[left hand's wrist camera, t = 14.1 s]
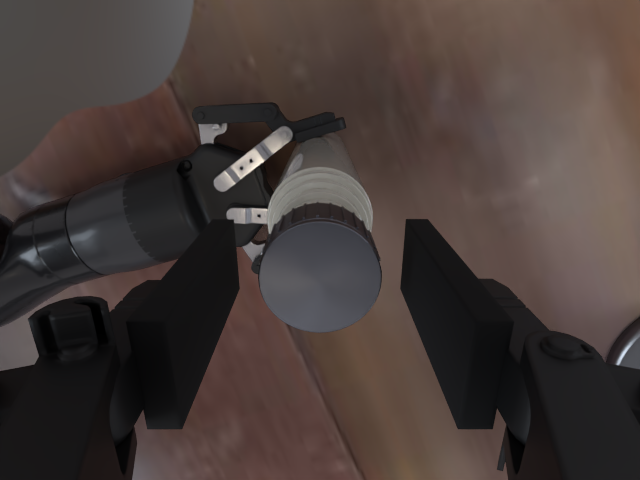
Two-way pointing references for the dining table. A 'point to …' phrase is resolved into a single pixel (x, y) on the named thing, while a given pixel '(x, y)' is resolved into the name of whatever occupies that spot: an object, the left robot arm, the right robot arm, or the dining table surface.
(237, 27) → the dining table surface
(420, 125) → the dining table surface
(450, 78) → the dining table surface
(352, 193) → the bottle
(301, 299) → the cap
